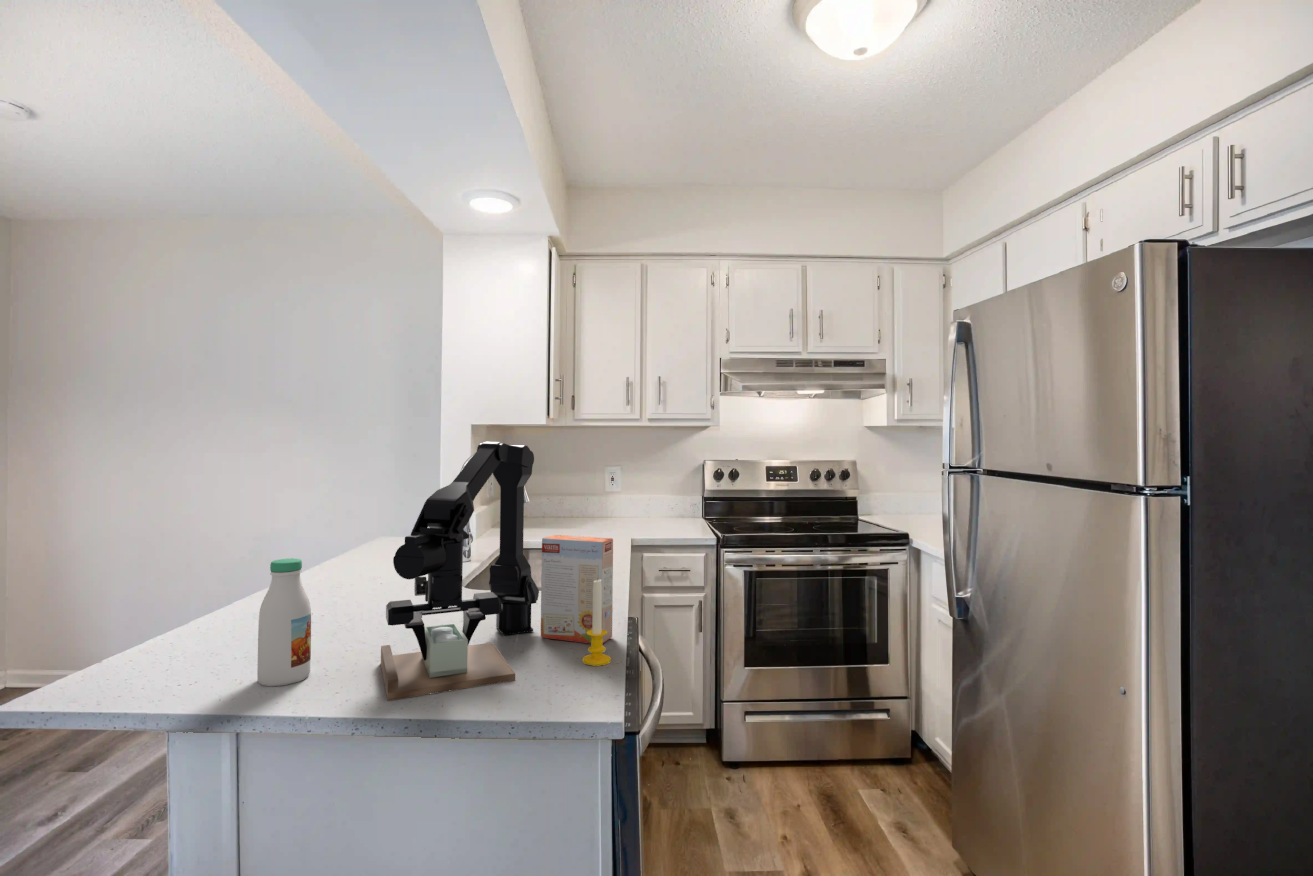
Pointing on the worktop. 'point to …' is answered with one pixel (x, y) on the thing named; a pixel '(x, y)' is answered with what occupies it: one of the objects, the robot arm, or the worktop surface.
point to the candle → (597, 631)
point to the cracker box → (575, 586)
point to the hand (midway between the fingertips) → (443, 657)
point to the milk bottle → (284, 627)
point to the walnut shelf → (412, 678)
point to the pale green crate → (445, 650)
